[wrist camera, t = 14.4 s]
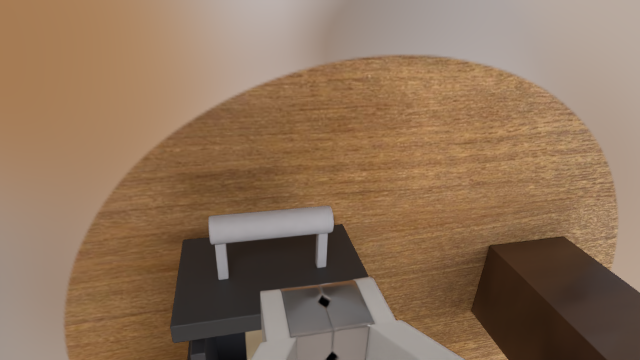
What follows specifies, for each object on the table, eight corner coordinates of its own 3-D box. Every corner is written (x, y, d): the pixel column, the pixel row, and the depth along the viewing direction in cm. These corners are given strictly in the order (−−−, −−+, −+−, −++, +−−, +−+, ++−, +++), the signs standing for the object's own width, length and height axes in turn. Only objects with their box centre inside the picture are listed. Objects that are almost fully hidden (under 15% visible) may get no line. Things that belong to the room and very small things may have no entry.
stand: (489, 245, 35) (668, 420, 21) (564, 236, 37) (775, 392, 23) (471, 311, 38) (613, 497, 24) (539, 300, 40) (708, 468, 26)
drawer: (174, 185, 25) (156, 261, 18) (346, 173, 27) (388, 236, 20) (202, 371, 33) (198, 473, 26) (333, 349, 35) (360, 437, 28)
